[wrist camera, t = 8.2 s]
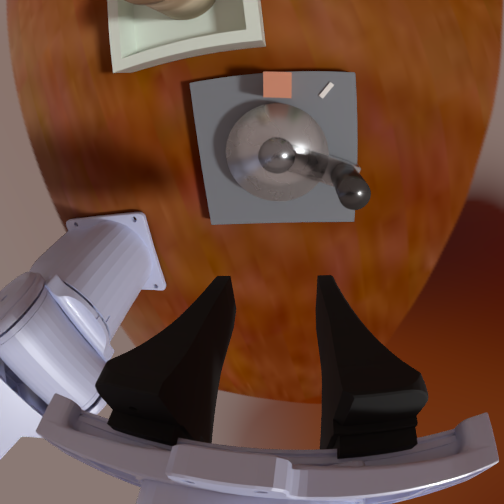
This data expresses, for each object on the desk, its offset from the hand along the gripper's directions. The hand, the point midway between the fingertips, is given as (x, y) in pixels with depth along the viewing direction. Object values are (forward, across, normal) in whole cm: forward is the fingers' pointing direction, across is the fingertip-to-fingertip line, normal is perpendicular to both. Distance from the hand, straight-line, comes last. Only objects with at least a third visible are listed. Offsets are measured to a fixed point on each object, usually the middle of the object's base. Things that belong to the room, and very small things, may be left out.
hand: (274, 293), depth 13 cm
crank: (+8, -1, -4) cm, 9 cm away
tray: (+9, +5, -16) cm, 20 cm away
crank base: (+9, 0, -4) cm, 10 cm away
